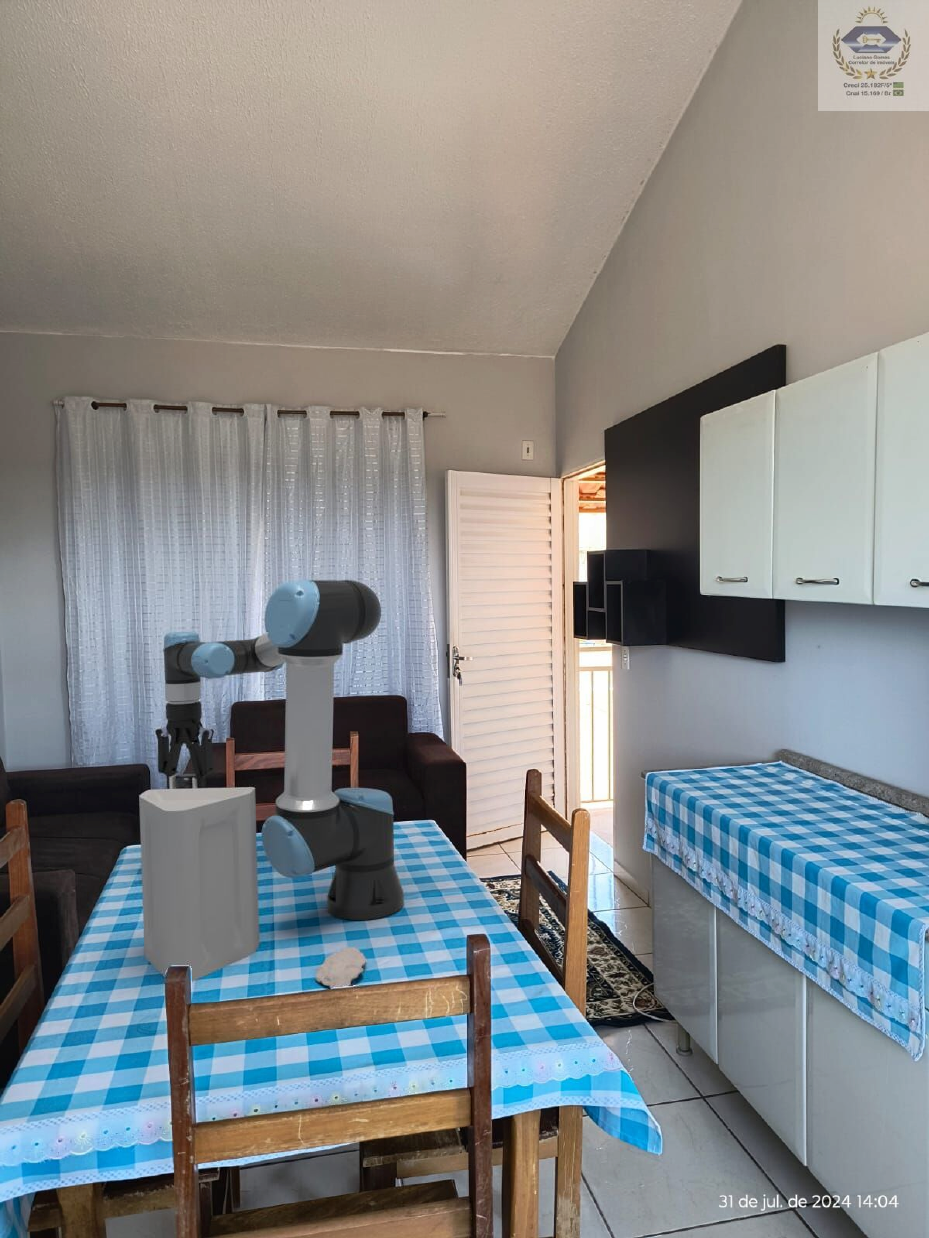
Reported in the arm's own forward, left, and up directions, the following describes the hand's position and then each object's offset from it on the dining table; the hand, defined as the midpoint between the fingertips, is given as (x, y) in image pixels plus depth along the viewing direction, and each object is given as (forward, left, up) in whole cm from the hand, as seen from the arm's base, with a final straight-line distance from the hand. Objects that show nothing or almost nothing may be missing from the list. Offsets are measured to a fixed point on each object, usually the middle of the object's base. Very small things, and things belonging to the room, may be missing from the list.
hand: (186, 804), depth 182 cm
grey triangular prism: (-27, +38, -16) cm, 49 cm away
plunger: (0, 0, -13) cm, 13 cm away
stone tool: (-53, +36, -16) cm, 67 cm away
